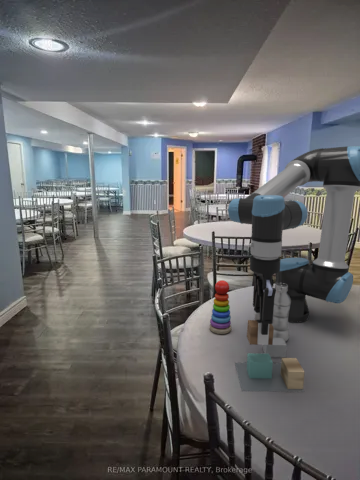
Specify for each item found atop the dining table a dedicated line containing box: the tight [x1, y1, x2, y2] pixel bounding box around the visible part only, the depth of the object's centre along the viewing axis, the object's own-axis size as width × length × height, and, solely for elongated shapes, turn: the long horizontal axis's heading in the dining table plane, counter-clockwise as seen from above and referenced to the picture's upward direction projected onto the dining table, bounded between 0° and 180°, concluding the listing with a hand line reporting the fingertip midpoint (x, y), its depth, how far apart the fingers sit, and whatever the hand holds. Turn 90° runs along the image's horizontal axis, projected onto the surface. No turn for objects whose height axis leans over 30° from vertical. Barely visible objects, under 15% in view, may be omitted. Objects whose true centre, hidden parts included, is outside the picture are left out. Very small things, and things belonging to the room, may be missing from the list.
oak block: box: [280, 357, 305, 390], centre depth 80 cm, size 6×4×5 cm, turn 178°
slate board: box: [234, 362, 305, 393], centre depth 82 cm, size 16×12×1 cm
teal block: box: [246, 352, 274, 379], centre depth 83 cm, size 6×4×5 cm, turn 88°
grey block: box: [262, 338, 288, 358], centre depth 93 cm, size 6×4×5 cm, turn 88°
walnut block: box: [246, 319, 274, 345], centre depth 81 cm, size 6×4×5 cm, turn 89°
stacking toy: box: [209, 280, 232, 335], centre depth 107 cm, size 8×8×19 cm
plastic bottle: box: [272, 283, 291, 343], centre depth 100 cm, size 6×7×20 cm
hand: (260, 338), depth 81 cm, fingers closed on walnut block, 4 cm apart
